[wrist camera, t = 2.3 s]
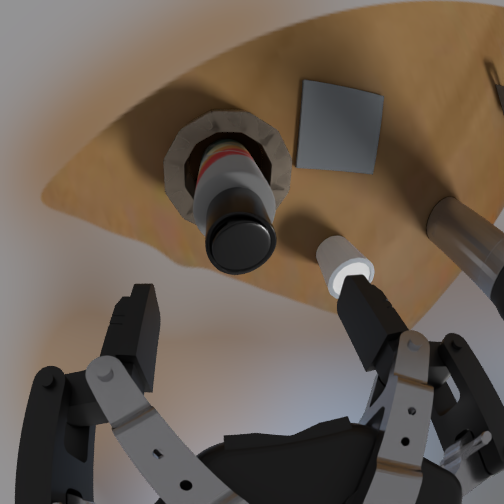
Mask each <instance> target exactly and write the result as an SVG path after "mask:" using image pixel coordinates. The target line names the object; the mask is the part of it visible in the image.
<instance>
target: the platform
mask: <svg viewBox="0 0 504 504" xmlns="http://www.w3.org/2000/svg"><path fill="white" fill-rule="evenodd" d="M496 88H497V91H498V95H499V98H500V102H501V105H502V109H503V113H504V86H501V85H496Z"/></svg>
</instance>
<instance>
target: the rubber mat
mask: <svg viewBox="0 0 504 504" xmlns="http://www.w3.org/2000/svg"><path fill="white" fill-rule="evenodd" d="M383 101H384V96H381V95H377V94H373V93H369V92H365V91H361V90H357V89H353V88H348V87H343V86H338V85H333V84H328V83H322V82H316V81H310V80H303V85H302V98H301V111H300V123H299V135H298V146H297V156H296V166H295V167H296V168H308V169H322V170H335V171H346V172H356V173H365V174H373V171H374V165H375V160H376V154H377V147H378V141H379V134H380V127H381V119H382V110H383Z"/></svg>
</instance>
